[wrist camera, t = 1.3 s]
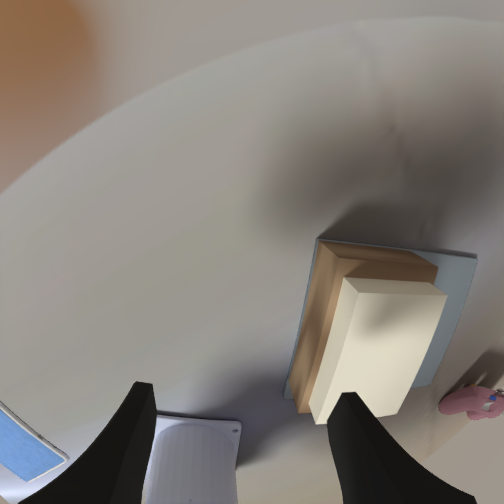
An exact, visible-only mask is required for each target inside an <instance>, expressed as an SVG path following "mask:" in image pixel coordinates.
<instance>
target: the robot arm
mask: <svg viewBox="0 0 504 504" xmlns="http://www.w3.org/2000/svg"><path fill="white" fill-rule="evenodd" d="M327 428H328V436H329V443H330V447H331V451H332V455H333V459H334V462H335V466H336V470H337V474H338V477H339V481H340V485H341V490H342V496H343V504H477V502H476V500H475V498H474V496H472V495H469V494H467V493H465V492H463V491H461V490H459V489H457V488H455V487H453V486H451V485H449V484H447V483H446V482H444V481H443V480H441V479H439V478H438V477H437V476H435V475H434V474H432V473H431V472H429V471H428V470H427V469H425V468H424V467H423V466H422V465H420V464H419V463H418V462H417V461H416V460H415V459H413V458H412V457H411V456H410V455H409V454H408V453H407V452H406V451H405V450H404V449H403V448H402V447H401V446H400V445H399V444H398V443H397V442H396V441H395V440H394V438H393V437H392V436H391V435H390V434H389V433H388V432H387V430H386V429H385V428H384V427H383V426H382V424H381V423H380V422H379V421H378V420H377V418H376V417H375V416H374V414H373V413H372V412H371V411H370V409H369V408H368V407H367V405H366V404H365V403H364V402H363V400H362V399H361V398H360V396H359V395H358V394H357V393H356V392H342V393H341V395H340V397H339V399H338V401H337V403H336V405H335V407H334V408H333V410H332V412H331V414H330V416H329V417H328V419H327ZM234 429H236V430H234ZM241 429H242V425H241V423H240V422H239V421H222V420H205V419H193V418H182V417H173V416H164V415H157V409H156V403H155V397H154V391H153V384H150V383H144V382H135V383H134V384H133V386H132V388H131V389H130V391H129V393H128V395H127V396H126V398H125V399H124V401H123V403H122V404H121V406H120V407H119V409H118V410H117V412H116V413H115V414H114V416H113V417H112V418H111V420H110V421H109V423H108V424H107V425H106V427H105V428H104V429H103V431H102V432H101V433H100V434H99V435H98V437H97V438H96V439H95V440H94V442H93V443H92V444H91V445H90V446H89V447H88V448H87V450H86V451H85V452H84V453H83V454H82V455H81V456H80V457H79V458H78V459H77V460H76V461H75V462H74V463H73V464H72V465H70V466H69V467H68V468H67V469H66V470H65V471H64V472H63V473H62V474H60V475H59V476H58V477H57V478H55V479H54V480H53V481H51V482H50V483H49V484H47V485H46V486H45V487H43V488H42V489H40V490H39V491H37V492H36V493H34V494H32V495H31V496H29V497H27V498H25V499H24V500H22V501H20V502H19V503H18V504H141V499H142V490H143V484H144V479H145V475H146V470H147V466H148V462H149V458H150V453H151V449H152V450H153V457H152V463H151V469H150V476H149V482H148V489H147V496H146V503H145V504H238V498H237V486H236V473H235V464H236V459H237V453H238V447H239V441H240V435H241Z"/></svg>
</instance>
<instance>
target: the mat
mask: <svg viewBox="0 0 504 504" xmlns="http://www.w3.org/2000/svg"><path fill="white" fill-rule="evenodd" d="M319 240H320V241H330V242H339V243H348V244H357V245H366V246H374V247H383V248H392V249H400V250H408V251H411V252H413V253H415V254H417V255H418V256H420V257H422V258H424V259H425V260H427V261H429V262H430V263H432V264H434V265H436V266H437V267H439V268H438V272H437V275H436V279H435V282H434V286H435V287H436V288H438V289H439V290H441V291H442V292H443V293H445V294H446V295H448V296H447V299H446V302H445V305H444V308H443V311H442V313H441V316H440V319H439V322H438V324H437V327H436V330H435V332H434V335H433V337H432V340H431V342H430V345H429V347H428V350H427V352H426V354H425V357H424V359H423V361H422V364H421V366H420V368H419V370H418V372H417V374H416V377H415V379H414V381H413V383H412V385H411V387H410V389H411V388H417V387H422V386H428V385H430V383H431V382H432V380H433V378H434V375H435V373H436V371H437V369H438V367H439V365H440V363H441V361H442V359H443V356H444V354H445V352H446V350H447V347H448V345H449V343H450V340H451V338H452V335H453V333H454V330H455V328H456V325H457V323H458V320H459V317H460V315H461V312H462V309H463V306H464V303H465V300H466V298H467V295H468V291H469V288H470V285H471V282H472V279H473V275H474V272H475V268H476V265H477V261H478V259H476V258H474V257H467V256H459V255H452V254H444V253H436V252H429V251H421V250H413V249H405V248H397V247H388V246H380V245H372V244H363V243H354V242H346V241H337V240H328V239H318V238H316V244H315V249H314V255H313V260H312V266H311V271H310V276H309V282H308V287H307V292H306V297H305V302H304V306H303V311H302V316H301V321H300V325H299V330H298V334H297V339H296V343H295V348H294V352H293V356H292V360H291V365H290V369H289V373H288V377H287V381H286V385H285V389H284V393H283V398H284V400H294V398H293V395H292V391H291V388H290V385H289V381H288V379H289V377H290V374H291V369H292V365H293V361H294V358H295V353H296V349H297V345H298V341H299V336H300V332H301V327H302V323H303V318H304V313H305V309H306V304H307V299H308V294H309V289H310V284H311V279H312V274H313V269H314V264H315V259H316V253H317V248H318V242H319Z"/></svg>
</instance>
